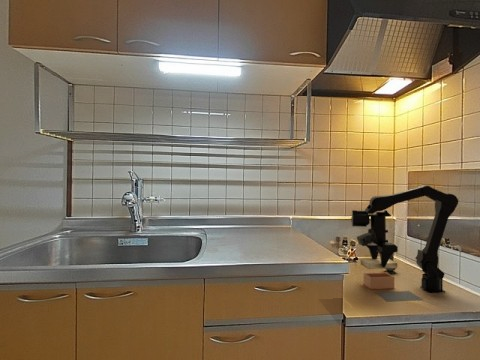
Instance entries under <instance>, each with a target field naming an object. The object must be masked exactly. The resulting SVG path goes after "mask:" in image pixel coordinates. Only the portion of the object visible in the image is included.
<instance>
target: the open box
mask: <svg viewBox="0 0 480 360" xmlns="http://www.w3.org/2000/svg"><path fill="white" fill-rule="evenodd" d="M363 285H364V286H366V287H367V288H368V289H369V290H385V289H386V290H388V289H395V276H394V275H393V274H388V273H387V272H385V273H384V272H364V273H363Z"/></svg>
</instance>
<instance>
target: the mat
mask: <svg viewBox="0 0 480 360" xmlns="http://www.w3.org/2000/svg"><path fill="white" fill-rule="evenodd" d="M374 293H375V294H376V295H378V296H379V297H380V298H381V299H383V300H384V301H385V302H386V303H387V302H388V303H391V302H409V301H410V302H411V301H412V302H413V301H424V299H423V298H422V297H420V296H419V295H416V294H415V293H413V292H412V291H410V290H404V291H403V290H401V291H384V292H383V291H380V292H379V291H378V292H374Z"/></svg>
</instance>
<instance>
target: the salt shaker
mask: <svg viewBox="0 0 480 360" xmlns="http://www.w3.org/2000/svg"><path fill="white" fill-rule="evenodd" d="M389 259H390V260H392V261H394V259H395V257H394V253H393V254H392V255H391V257H390V258H389ZM396 269H397V268H385V269H384V271H383V273H385V272H387V273H388V274H390V275H396V274H397V272H396Z"/></svg>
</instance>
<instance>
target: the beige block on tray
mask: <svg viewBox="0 0 480 360" xmlns="http://www.w3.org/2000/svg"><path fill="white" fill-rule="evenodd" d="M360 265H361V266H363V267H364V268H365V269H367V270H377V269H378V270H380V269H381V270H382V269H384V270H386V269H385V268H396V269H398V262H396V261H394V260H393V261H392V260H390V259H389V260H388V262H387V264H386V266H385V267H382V265H381V258H377V259H372V258H369V259H366V258H365V259H360Z"/></svg>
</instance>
